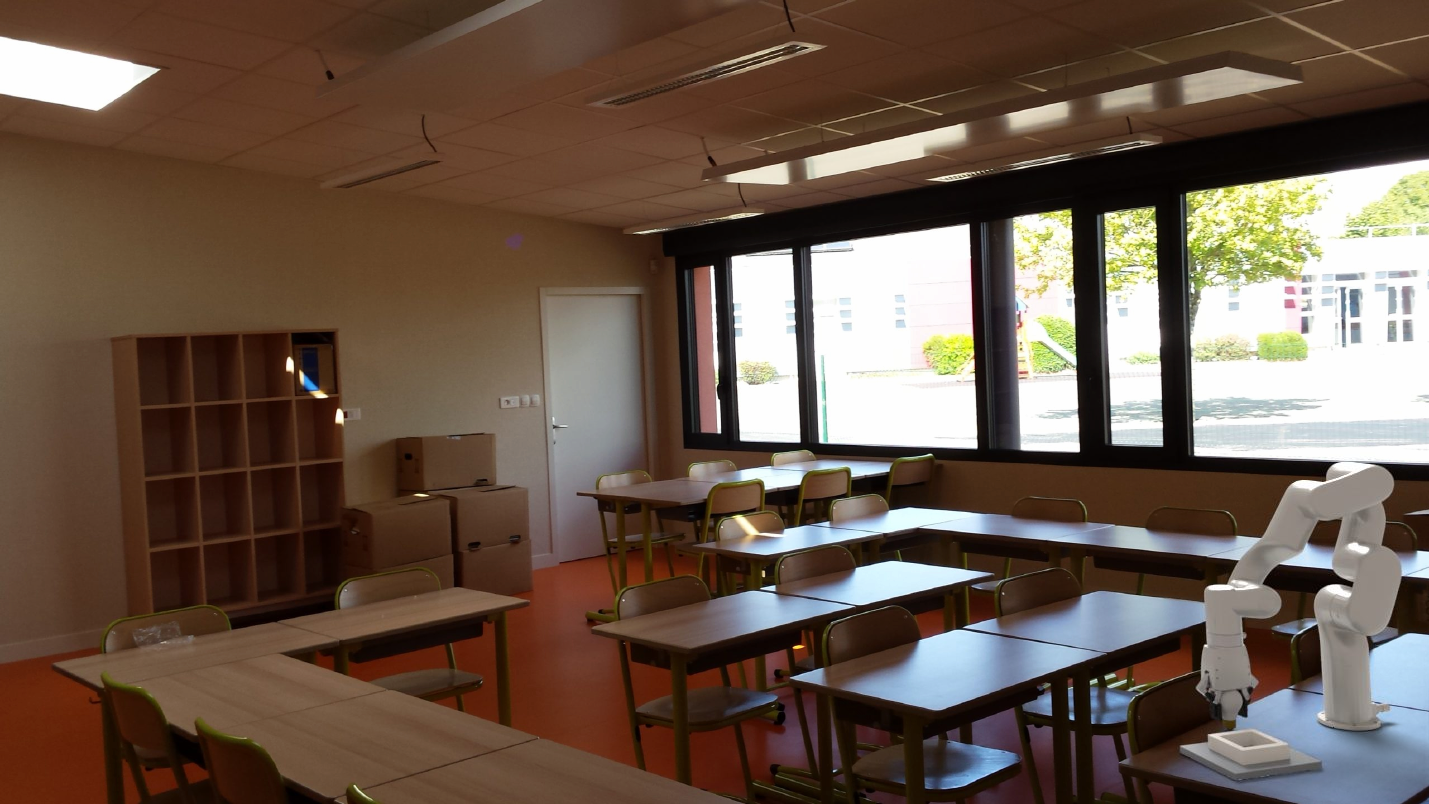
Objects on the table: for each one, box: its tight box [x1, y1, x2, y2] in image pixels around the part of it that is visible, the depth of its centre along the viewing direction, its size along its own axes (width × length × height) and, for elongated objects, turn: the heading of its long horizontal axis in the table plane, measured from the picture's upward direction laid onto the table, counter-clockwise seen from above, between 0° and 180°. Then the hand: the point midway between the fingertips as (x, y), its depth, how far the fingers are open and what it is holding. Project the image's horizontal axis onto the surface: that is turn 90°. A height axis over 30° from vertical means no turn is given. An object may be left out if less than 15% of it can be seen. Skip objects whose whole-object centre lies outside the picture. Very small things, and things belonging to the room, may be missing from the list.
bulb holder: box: [1179, 728, 1323, 781], centre depth 224 cm, size 20×18×4 cm
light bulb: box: [1219, 690, 1243, 732], centre depth 243 cm, size 6×6×10 cm
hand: (1229, 717), depth 243 cm, fingers closed on light bulb, 5 cm apart
